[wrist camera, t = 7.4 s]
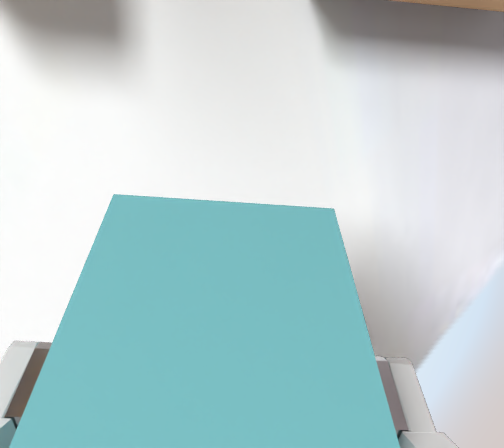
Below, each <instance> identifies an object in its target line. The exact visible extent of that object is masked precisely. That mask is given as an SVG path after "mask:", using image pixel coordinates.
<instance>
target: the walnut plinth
mask: <svg viewBox="0 0 504 448" xmlns="http://www.w3.org/2000/svg"><path fill="white" fill-rule="evenodd" d="M390 1H400V2H410V3H420V4H430V5H440V6H451V7H461V8H471V9H481V10H491V11H501V12H504V0H390Z"/></svg>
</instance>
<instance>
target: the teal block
mask: <svg viewBox="0 0 504 448" xmlns="http://www.w3.org/2000/svg"><path fill="white" fill-rule="evenodd" d="M9 448H400V445H399V441H398V438H397V434H396V431H395V427H394V423H393V420H392V416H391V413H390V409H389V405H388V402H387V398H386V395H385V391H384V387H383V384H382V380H381V377H380V373H379V369H378V366H377V362H376V359H375V355H374V351H373V348H372V344H371V341H370V337H369V333H368V330H367V326H366V323H365V319H364V315H363V312H362V308H361V305H360V301H359V297H358V294H357V290H356V287H355V283H354V279H353V276H352V272H351V269H350V265H349V261H348V258H347V254H346V251H345V247H344V243H343V240H342V236H341V233H340V229H339V225H338V222H337V218H336V215H335V211H334V209H331V208H316V207H301V206H285V205H270V204H255V203H240V202H224V201H209V200H194V199H179V198H163V197H148V196H133V195H118V194H114V195H113V197H112V200H111V202H110V204H109V207H108V209H107V212H106V214H105V216H104V219H103V221H102V224H101V226H100V229H99V231H98V233H97V236H96V238H95V241H94V243H93V245H92V248H91V250H90V253H89V255H88V258H87V260H86V262H85V265H84V267H83V270H82V272H81V275H80V277H79V279H78V282H77V284H76V287H75V289H74V291H73V294H72V296H71V299H70V301H69V304H68V306H67V308H66V311H65V313H64V316H63V318H62V320H61V323H60V325H59V328H58V330H57V333H56V335H55V337H54V340H53V342H52V345H51V347H50V350H49V352H48V354H47V357H46V359H45V362H44V364H43V366H42V369H41V371H40V374H39V376H38V379H37V381H36V383H35V386H34V388H33V391H32V393H31V395H30V398H29V400H28V403H27V405H26V408H25V410H24V412H23V415H22V417H21V420H20V422H19V424H18V427H17V429H16V432H15V434H14V437H13V439H12V441H11V444H10V446H9Z"/></svg>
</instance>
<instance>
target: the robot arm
mask: <svg viewBox="0 0 504 448" xmlns="http://www.w3.org/2000/svg"><path fill="white" fill-rule="evenodd" d="M51 345H52V343H50V342H35V341H14V342H13V343H12V344H11V345H10V346H9V347H8V348H7V350H6V352H5V354H4V356H3V358H2V360H1V362H0V448H9V446H10V444H11V441H12V439H13V437H14V434H15V432H16V429H17V427H18V424H19V422H20V420H21V417H22V415H23V412H24V410H25V408H26V405H27V403H28V400H29V398H30V395H31V393H32V391H33V388H34V386H35V383H36V381H37V379H38V376H39V374H40V371H41V369H42V366H43V364H44V362H45V359H46V357H47V354H48V352H49V350H50V347H51ZM375 359H376V362H377V366H378V369H379V373H380V377H381V380H382V384H383V387H384V391H385V395H386V398H387V402H388V405H389V409H390V413H391V416H392V420H393V423H394V427H395V431H396V434H397V438H398V441H399V445H400V448H459V447H458V446H457V445H456V444H455V443H453V441H452V440H451V439H450V438H449V437H448V436H446V434H445V433H441V432H436V429H435V426H434V423H433V421H432V418H431V415H430V412H429V409H428V407H427V404H426V401H425V398H424V395H423V393H422V390H421V387H420V384H419V381H418V379H417V376H416V373H415V370H414V367H413V365H412V363H411V361H410V360H409V359H408V358H391V357H382V356H375Z"/></svg>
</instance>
